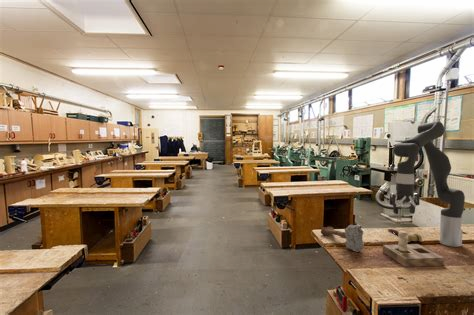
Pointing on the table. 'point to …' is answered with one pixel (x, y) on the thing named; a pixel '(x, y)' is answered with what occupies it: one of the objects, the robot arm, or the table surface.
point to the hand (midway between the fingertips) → (403, 213)
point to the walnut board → (414, 256)
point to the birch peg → (402, 241)
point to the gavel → (409, 236)
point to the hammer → (348, 236)
